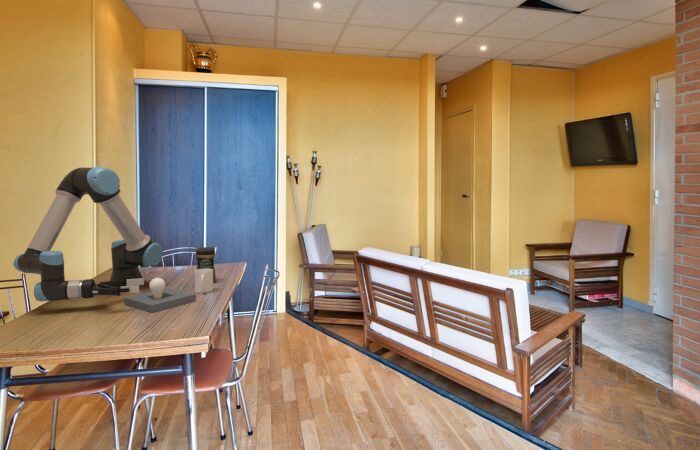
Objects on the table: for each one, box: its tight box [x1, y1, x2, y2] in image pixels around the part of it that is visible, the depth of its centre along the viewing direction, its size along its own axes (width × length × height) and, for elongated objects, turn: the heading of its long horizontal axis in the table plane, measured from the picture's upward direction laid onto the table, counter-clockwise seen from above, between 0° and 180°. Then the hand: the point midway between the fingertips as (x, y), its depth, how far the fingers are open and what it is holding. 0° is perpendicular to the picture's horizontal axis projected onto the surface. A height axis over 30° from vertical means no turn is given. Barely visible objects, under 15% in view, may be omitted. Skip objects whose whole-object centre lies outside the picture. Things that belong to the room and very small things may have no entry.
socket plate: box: [123, 287, 197, 314], centre depth 173 cm, size 20×20×3 cm
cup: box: [194, 268, 214, 294], centre depth 191 cm, size 8×12×10 cm
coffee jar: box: [195, 246, 217, 284], centre depth 210 cm, size 10×8×19 cm
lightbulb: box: [148, 277, 166, 300], centre depth 170 cm, size 6×6×11 cm
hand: (141, 285), depth 170 cm, fingers open, 13 cm apart
